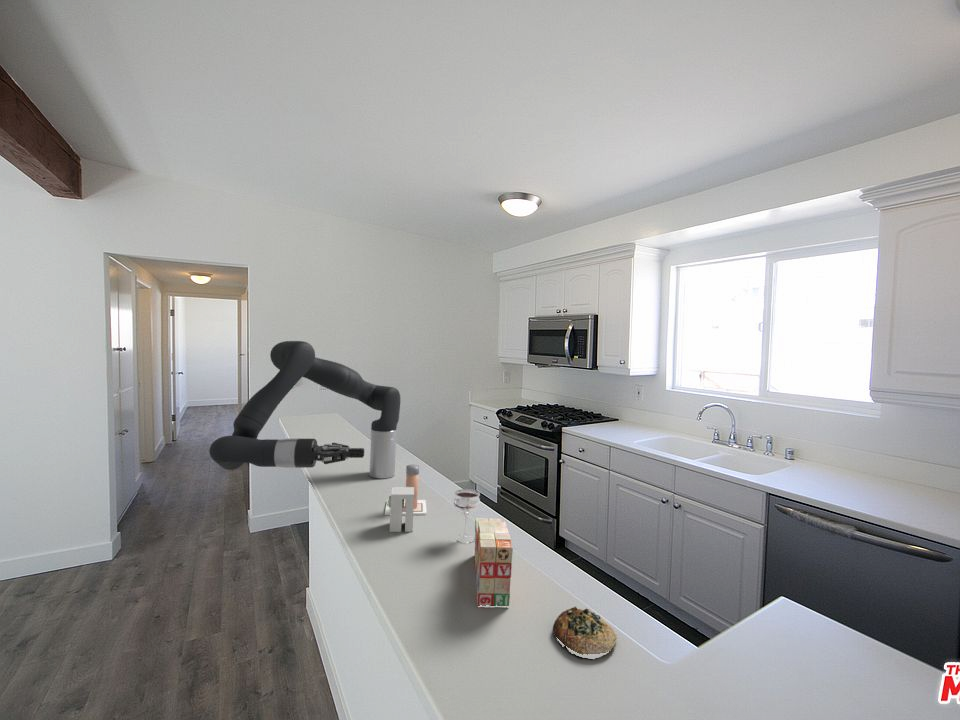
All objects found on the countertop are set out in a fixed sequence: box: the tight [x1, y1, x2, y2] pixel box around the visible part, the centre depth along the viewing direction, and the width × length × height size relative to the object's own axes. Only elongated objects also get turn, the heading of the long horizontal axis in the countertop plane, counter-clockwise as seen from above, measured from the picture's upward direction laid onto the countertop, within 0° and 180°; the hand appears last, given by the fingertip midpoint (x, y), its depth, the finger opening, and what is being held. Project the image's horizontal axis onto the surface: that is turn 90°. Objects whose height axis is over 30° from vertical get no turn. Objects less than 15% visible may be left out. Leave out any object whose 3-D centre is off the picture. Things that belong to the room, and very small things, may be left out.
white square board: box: [384, 499, 428, 516], centre depth 134 cm, size 11×12×1 cm
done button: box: [388, 495, 405, 508], centre depth 120 cm, size 3×4×3 cm
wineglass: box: [453, 488, 481, 544], centre depth 114 cm, size 7×7×12 cm
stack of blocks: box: [474, 517, 514, 607], centre depth 96 cm, size 21×6×12 cm, turn 3°
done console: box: [389, 486, 414, 533], centre depth 120 cm, size 6×6×10 cm
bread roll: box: [552, 606, 618, 655], centre depth 77 cm, size 11×11×5 cm
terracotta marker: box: [404, 464, 420, 509], centre depth 133 cm, size 4×4×12 cm
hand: (364, 452), depth 119 cm, fingers closed
